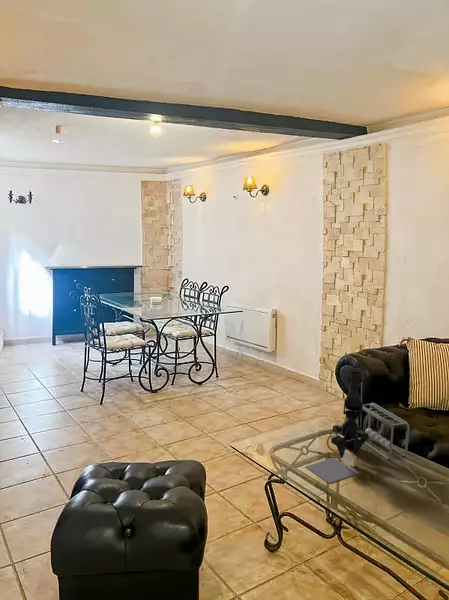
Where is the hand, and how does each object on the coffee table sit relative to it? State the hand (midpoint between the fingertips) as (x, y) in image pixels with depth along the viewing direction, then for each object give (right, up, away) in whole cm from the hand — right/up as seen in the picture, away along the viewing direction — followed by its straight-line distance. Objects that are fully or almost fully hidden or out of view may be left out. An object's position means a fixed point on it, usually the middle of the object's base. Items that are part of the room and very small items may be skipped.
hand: (348, 455), depth 240 cm
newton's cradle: (+19, -1, +19) cm, 27 cm away
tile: (0, -4, +1) cm, 4 cm away
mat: (-9, -5, -7) cm, 13 cm away
